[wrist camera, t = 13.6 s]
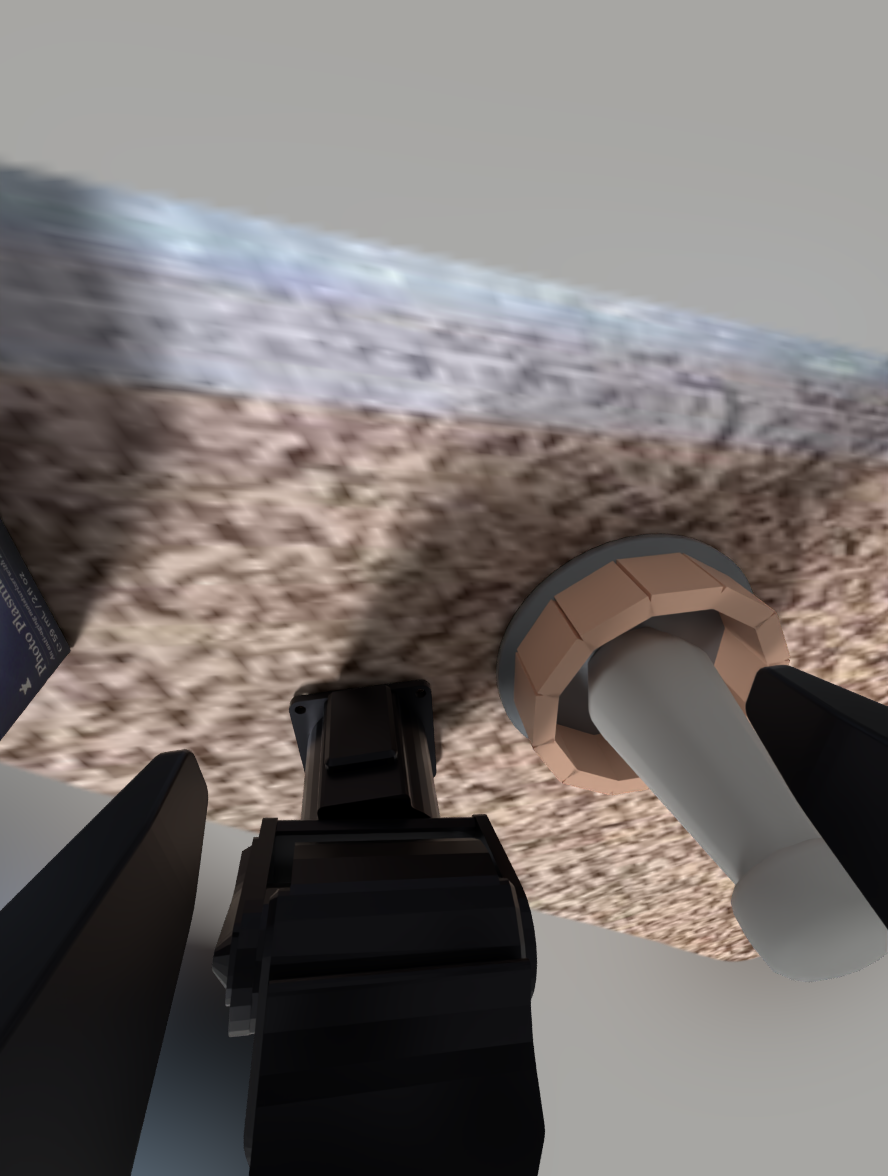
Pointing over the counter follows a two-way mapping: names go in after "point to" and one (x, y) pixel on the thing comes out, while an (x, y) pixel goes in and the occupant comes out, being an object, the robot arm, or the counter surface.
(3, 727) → the small box
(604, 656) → the salt shaker
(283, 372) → the counter surface
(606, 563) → the socket
